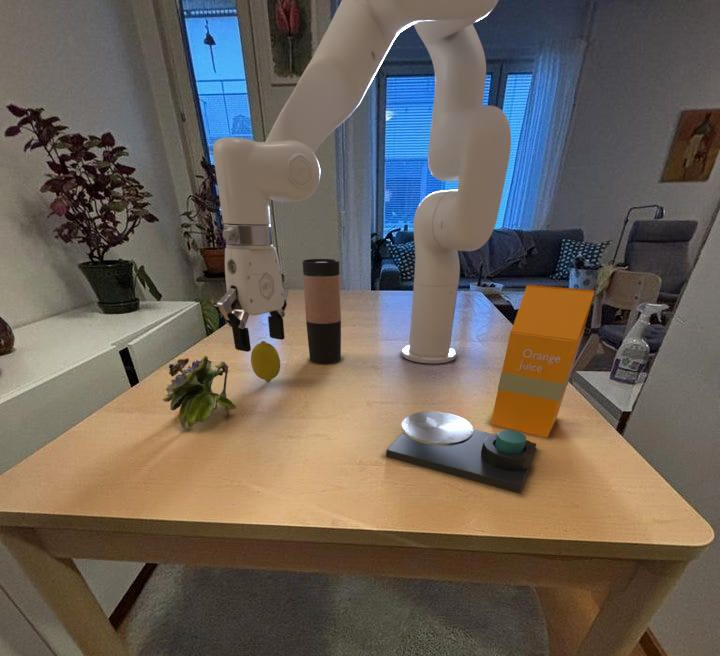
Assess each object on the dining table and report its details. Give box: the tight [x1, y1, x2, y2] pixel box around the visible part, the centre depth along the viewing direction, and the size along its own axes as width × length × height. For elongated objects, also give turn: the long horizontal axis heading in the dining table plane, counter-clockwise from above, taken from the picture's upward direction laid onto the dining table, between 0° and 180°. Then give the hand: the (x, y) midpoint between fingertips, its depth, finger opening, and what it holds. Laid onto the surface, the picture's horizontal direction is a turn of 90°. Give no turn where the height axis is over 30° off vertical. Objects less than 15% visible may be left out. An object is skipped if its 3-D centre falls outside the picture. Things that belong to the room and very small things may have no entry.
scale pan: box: [401, 410, 475, 446], centre depth 55 cm, size 10×10×1 cm
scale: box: [385, 429, 537, 494], centre depth 55 cm, size 12×18×3 cm, turn 62°
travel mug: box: [302, 258, 342, 365], centre depth 85 cm, size 8×8×20 cm
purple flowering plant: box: [162, 355, 237, 431], centre depth 64 cm, size 11×11×12 cm
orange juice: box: [490, 284, 596, 438], centre depth 59 cm, size 8×9×20 cm
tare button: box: [495, 429, 527, 454], centre depth 51 cm, size 4×4×2 cm
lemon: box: [250, 340, 281, 383], centre depth 76 cm, size 6×6×8 cm
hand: (261, 344), depth 74 cm, fingers open, 9 cm apart
